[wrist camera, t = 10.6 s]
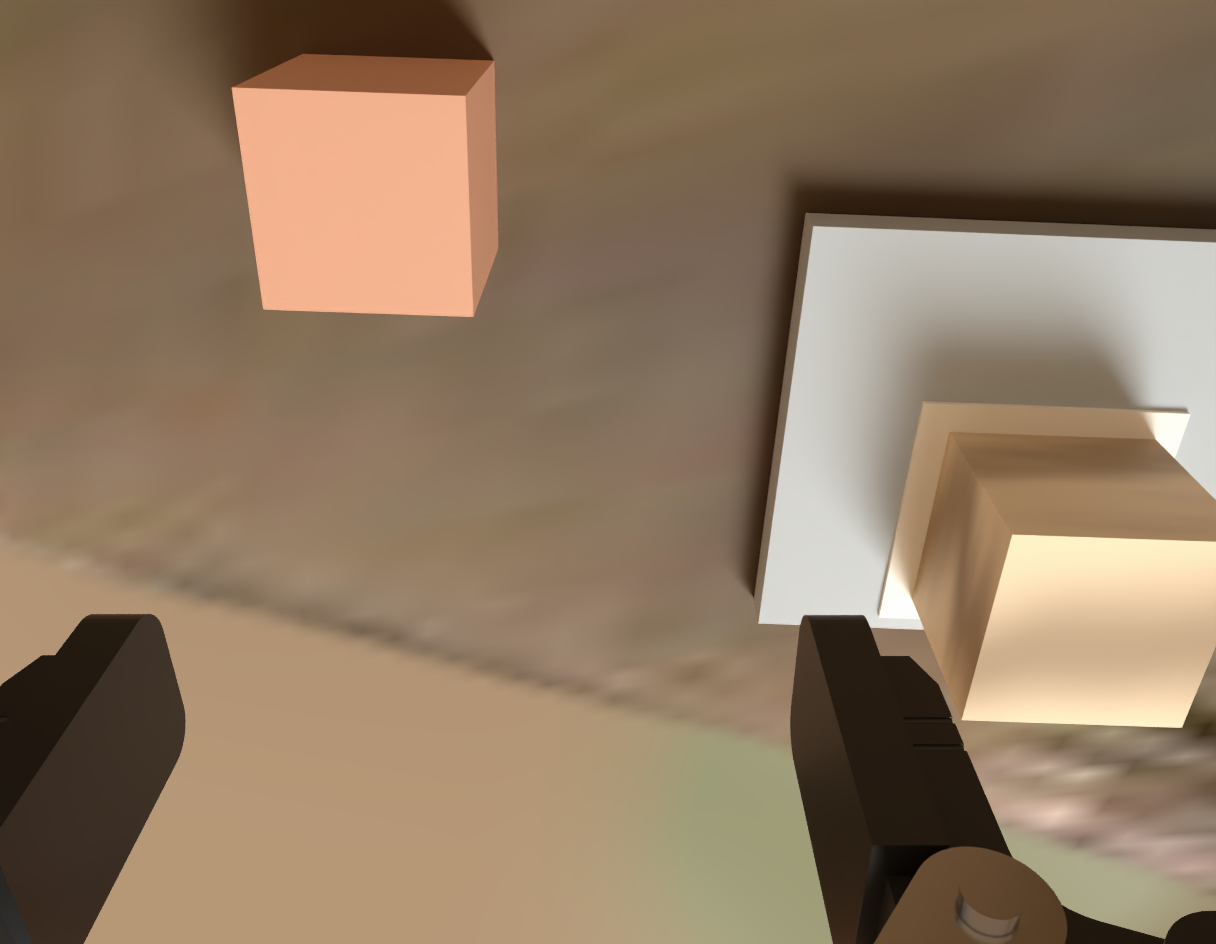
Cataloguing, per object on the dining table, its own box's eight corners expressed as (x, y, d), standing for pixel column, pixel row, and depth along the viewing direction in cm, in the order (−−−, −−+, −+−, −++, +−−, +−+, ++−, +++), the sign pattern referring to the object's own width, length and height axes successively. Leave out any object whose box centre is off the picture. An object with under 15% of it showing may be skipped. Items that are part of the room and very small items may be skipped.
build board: (805, 212, 25) (814, 228, 24) (1517, 241, 26) (1560, 257, 24) (753, 599, 31) (758, 626, 30) (1332, 621, 31) (1359, 649, 30)
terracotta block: (303, 53, 24) (231, 87, 19) (494, 60, 24) (465, 96, 19) (324, 241, 26) (263, 309, 22) (498, 247, 26) (473, 316, 22)
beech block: (949, 432, 27) (1012, 534, 22) (1155, 439, 27) (1258, 543, 23) (911, 599, 30) (962, 720, 25) (1099, 605, 30) (1181, 727, 25)
